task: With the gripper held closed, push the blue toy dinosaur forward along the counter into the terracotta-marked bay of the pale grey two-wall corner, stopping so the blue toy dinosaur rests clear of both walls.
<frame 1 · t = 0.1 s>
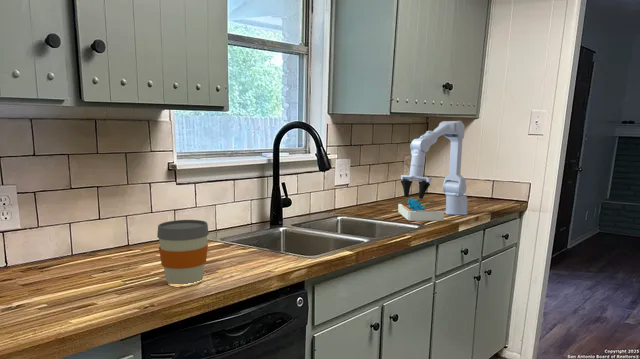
hand: (413, 197, 196), 11 cm above the counter, tool pointing down, fingers open, 7 cm apart
blue toy dinosaur: (417, 215, 216), on the counter
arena: (419, 215, 212), on the counter
reusable coffee cup: (184, 282, 117), on the counter
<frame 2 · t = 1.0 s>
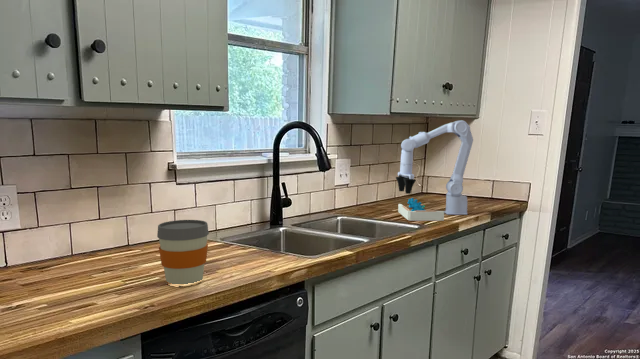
hand: (404, 192, 220), 10 cm above the counter, tool pointing down, fingers open, 7 cm apart
nothing on the counter moved.
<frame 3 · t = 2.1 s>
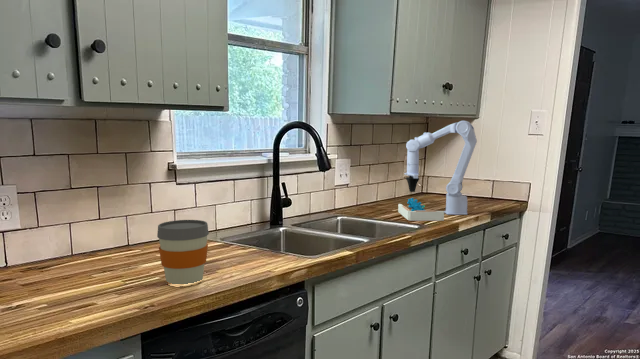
hand: (412, 191, 226), 9 cm above the counter, tool pointing down, fingers closed
nothing on the counter moved.
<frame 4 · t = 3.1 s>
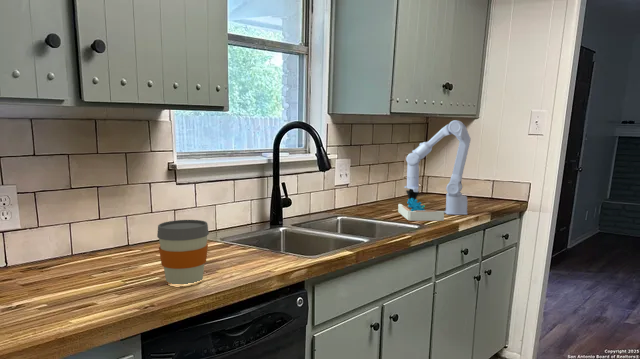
hand: (412, 204, 226), 3 cm above the counter, tool pointing down, fingers closed
nothing on the counter moved.
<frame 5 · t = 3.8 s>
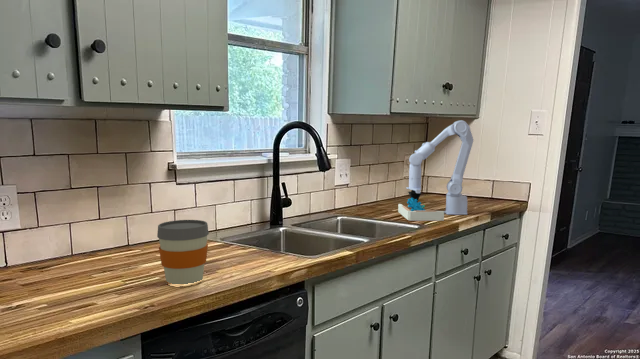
hand: (414, 206, 221), 3 cm above the counter, tool pointing down, fingers closed
blue toy dinosaur: (416, 214, 216), on the counter, touching gripper
everything else where it was.
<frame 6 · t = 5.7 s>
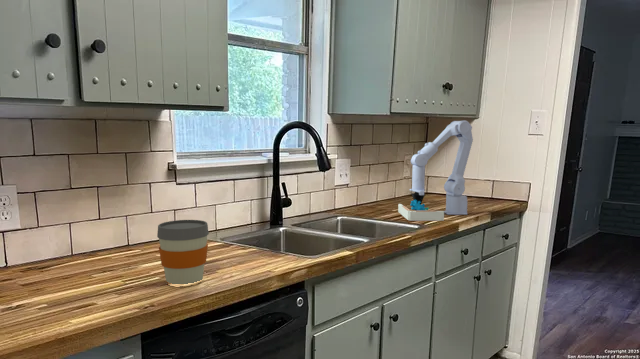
hand: (417, 208, 215), 3 cm above the counter, tool pointing down, fingers closed
blue toy dinosaur: (420, 217, 209), on the counter, touching gripper
everything else where it was.
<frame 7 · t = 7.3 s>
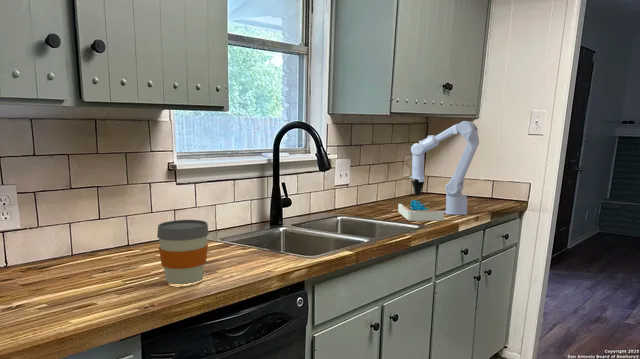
hand: (417, 195, 226), 8 cm above the counter, tool pointing down, fingers closed
blue toy dinosaur: (419, 217, 209), on the counter
everything else where it was.
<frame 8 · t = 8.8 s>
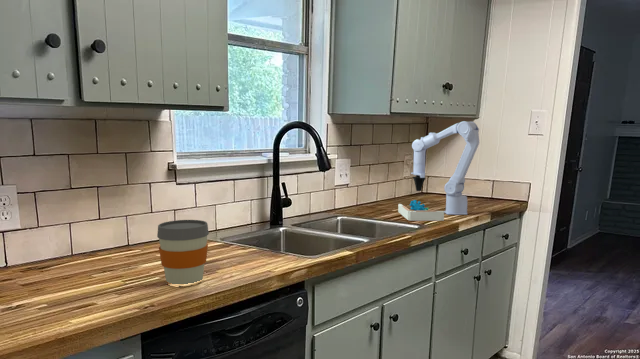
hand: (418, 190, 229), 9 cm above the counter, tool pointing down, fingers closed
nothing on the counter moved.
at the end: blue toy dinosaur 0.9 cm from the target spot, on the counter; blue toy dinosaur touching counter; blue toy dinosaur moved 6.1 cm from its start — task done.
